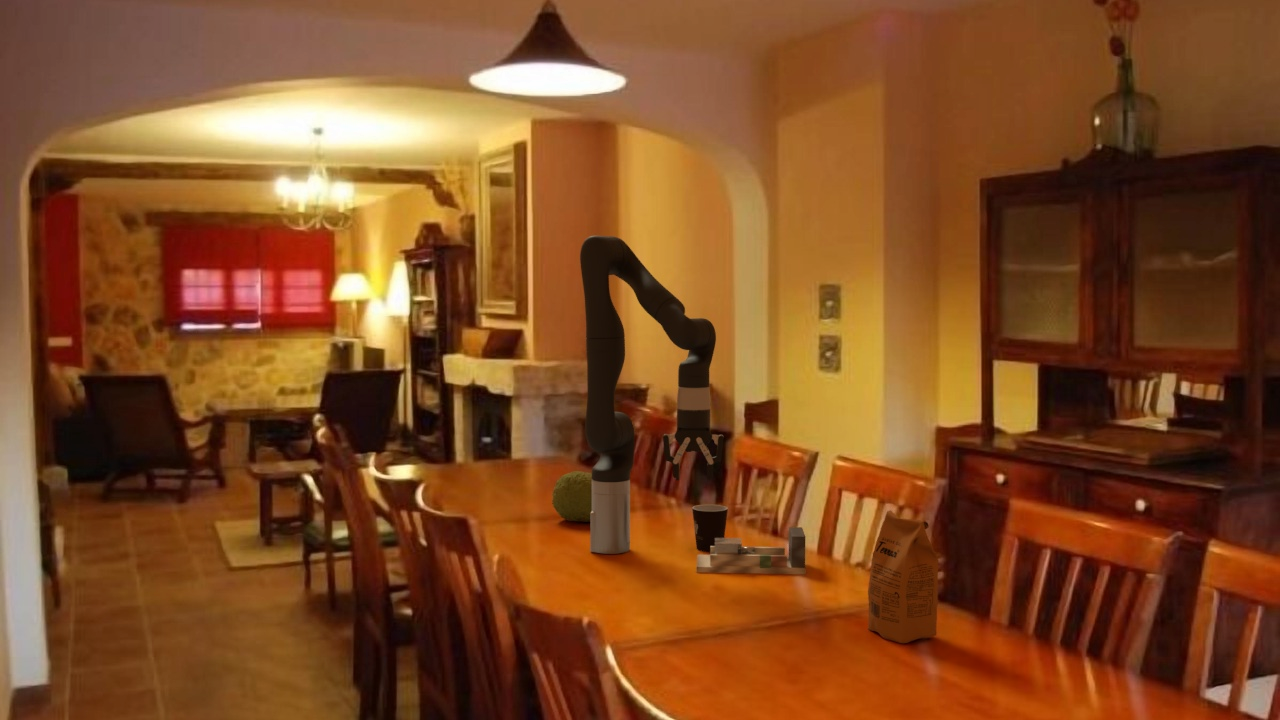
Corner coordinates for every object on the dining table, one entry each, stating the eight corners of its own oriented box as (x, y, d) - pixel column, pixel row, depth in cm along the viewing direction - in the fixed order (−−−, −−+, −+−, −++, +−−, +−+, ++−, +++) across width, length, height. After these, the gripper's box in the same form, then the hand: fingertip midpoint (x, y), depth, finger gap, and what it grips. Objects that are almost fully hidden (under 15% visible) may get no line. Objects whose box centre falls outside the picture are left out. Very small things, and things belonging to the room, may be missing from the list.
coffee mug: (725, 553, 272) (725, 512, 271) (689, 551, 274) (689, 510, 273) (731, 543, 283) (731, 503, 283) (696, 541, 285) (696, 501, 284)
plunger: (714, 565, 253) (714, 546, 253) (714, 556, 262) (714, 537, 262) (755, 566, 253) (755, 547, 252) (754, 557, 262) (754, 538, 261)
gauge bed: (696, 572, 254) (696, 535, 253) (697, 559, 266) (697, 524, 265) (805, 574, 252) (805, 537, 252) (801, 561, 264) (801, 526, 264)
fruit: (605, 514, 319) (622, 470, 313) (599, 543, 307) (616, 498, 300) (550, 496, 319) (565, 452, 312) (541, 524, 306) (557, 479, 299)
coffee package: (904, 622, 216) (906, 507, 215) (944, 641, 204) (946, 519, 203) (859, 627, 212) (860, 510, 211) (897, 647, 201) (899, 523, 199)
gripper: (661, 408, 254) (660, 482, 255) (725, 408, 253) (725, 483, 254) (662, 404, 262) (662, 477, 263) (725, 405, 261) (724, 478, 262)
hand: (693, 480), depth 259 cm, fingers open, 6 cm apart
